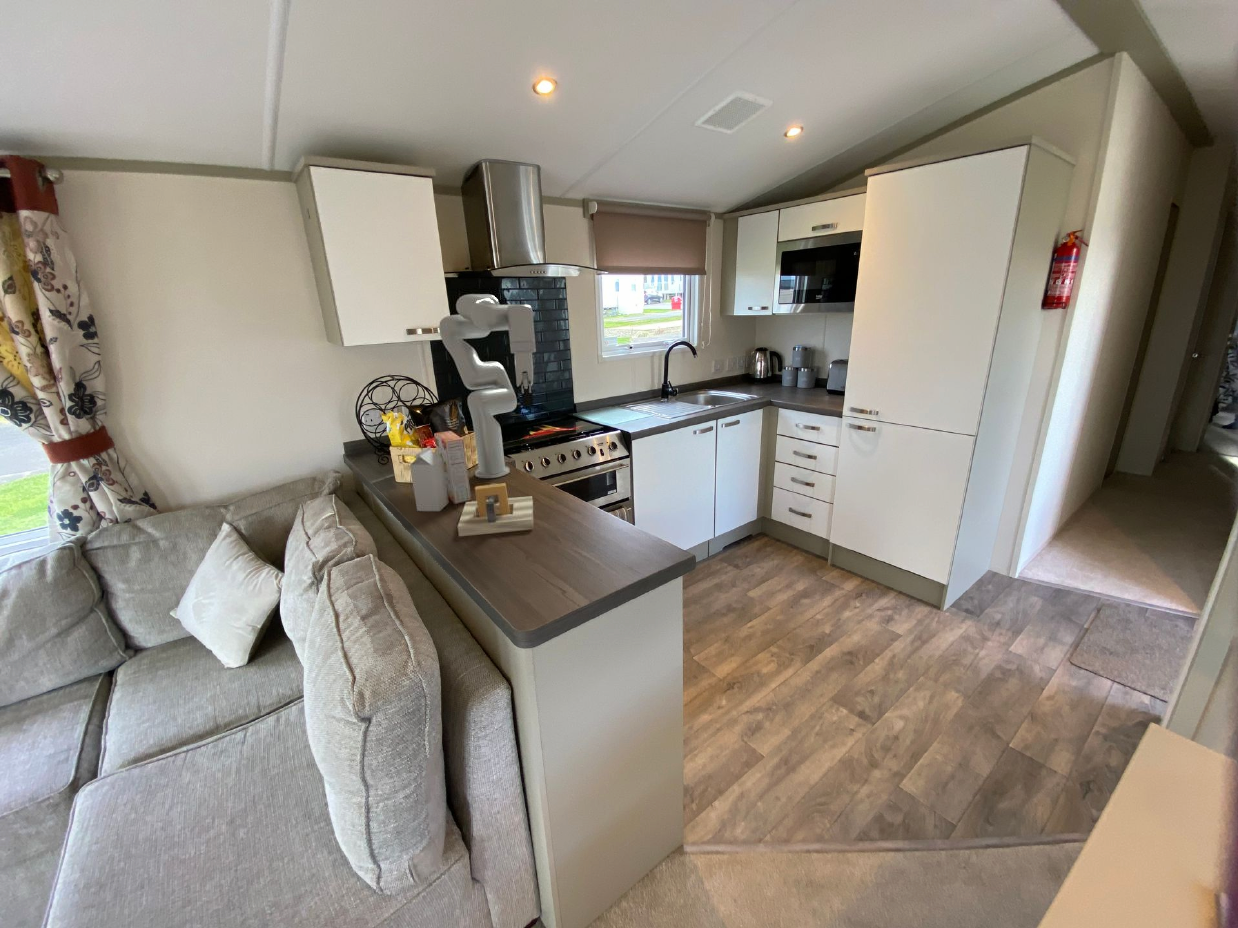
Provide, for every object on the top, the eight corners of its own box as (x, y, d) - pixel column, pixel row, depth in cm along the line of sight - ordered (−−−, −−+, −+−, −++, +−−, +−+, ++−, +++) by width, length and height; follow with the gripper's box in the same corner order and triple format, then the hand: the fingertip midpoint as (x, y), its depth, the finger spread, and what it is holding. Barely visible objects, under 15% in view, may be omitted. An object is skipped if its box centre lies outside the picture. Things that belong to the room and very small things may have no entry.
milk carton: (449, 503, 158) (440, 446, 153) (439, 511, 152) (430, 452, 146) (427, 503, 159) (418, 446, 153) (417, 511, 152) (407, 452, 147)
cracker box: (442, 492, 168) (433, 432, 162) (460, 488, 171) (451, 430, 165) (453, 505, 157) (444, 441, 150) (472, 500, 160) (463, 438, 153)
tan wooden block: (480, 516, 144) (475, 486, 141) (509, 512, 145) (505, 482, 142) (480, 520, 142) (474, 489, 139) (509, 516, 143) (505, 485, 140)
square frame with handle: (467, 511, 151) (463, 485, 149) (533, 505, 154) (530, 479, 152) (459, 536, 134) (454, 507, 132) (533, 529, 137) (530, 500, 135)
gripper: (511, 346, 157) (516, 399, 162) (509, 350, 141) (514, 409, 146) (535, 345, 158) (539, 398, 163) (535, 349, 142) (540, 407, 147)
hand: (528, 403), depth 155 cm, fingers open, 9 cm apart
